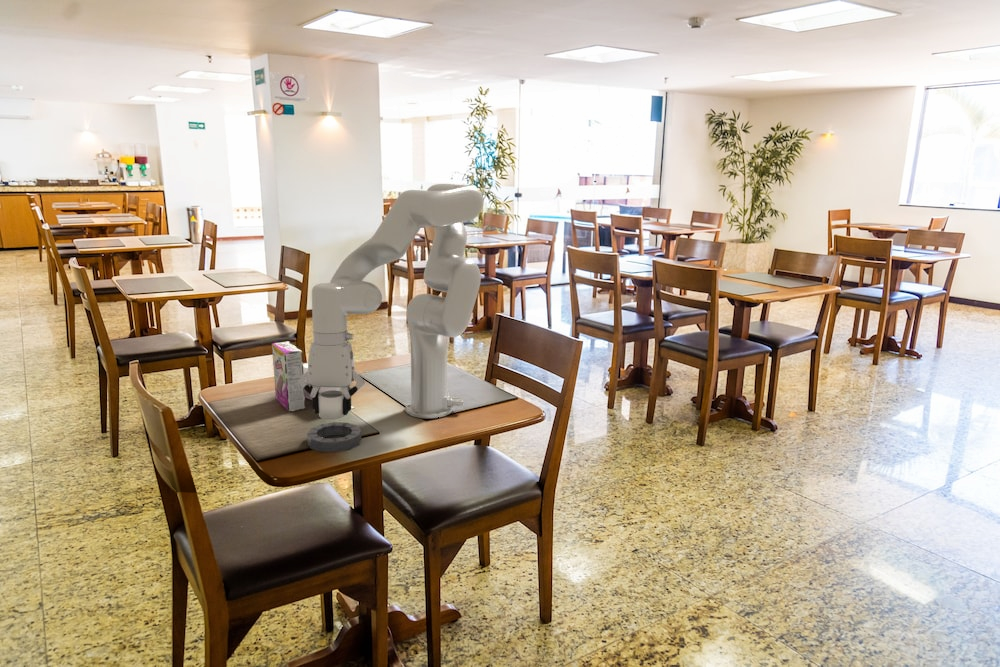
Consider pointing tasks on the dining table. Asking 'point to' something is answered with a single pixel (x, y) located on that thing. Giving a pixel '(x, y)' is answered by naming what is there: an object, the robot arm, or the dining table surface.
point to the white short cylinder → (331, 404)
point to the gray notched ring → (337, 444)
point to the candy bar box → (288, 375)
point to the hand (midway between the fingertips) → (332, 412)
